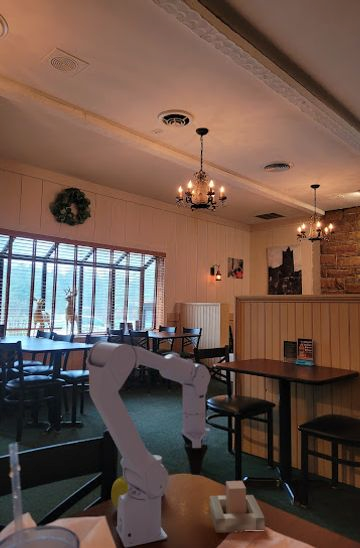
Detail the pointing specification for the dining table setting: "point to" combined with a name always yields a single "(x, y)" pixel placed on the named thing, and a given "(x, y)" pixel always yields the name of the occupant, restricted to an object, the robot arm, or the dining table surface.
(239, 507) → the peg
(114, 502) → the lemon
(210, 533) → the dining table surface
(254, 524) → the collar
